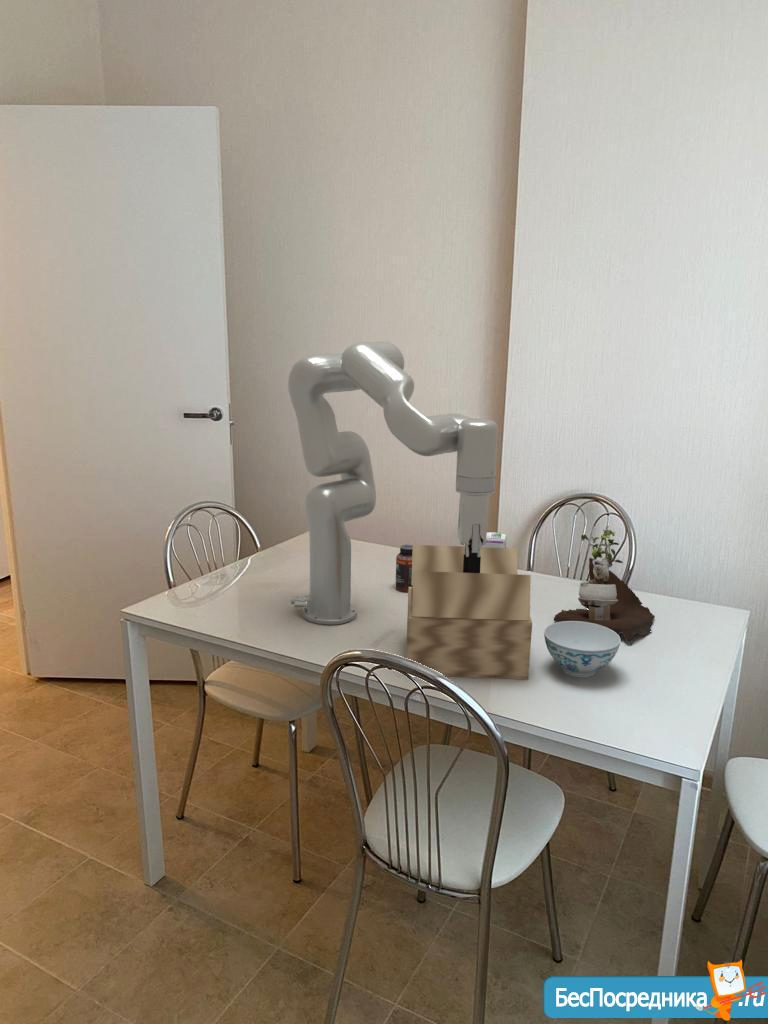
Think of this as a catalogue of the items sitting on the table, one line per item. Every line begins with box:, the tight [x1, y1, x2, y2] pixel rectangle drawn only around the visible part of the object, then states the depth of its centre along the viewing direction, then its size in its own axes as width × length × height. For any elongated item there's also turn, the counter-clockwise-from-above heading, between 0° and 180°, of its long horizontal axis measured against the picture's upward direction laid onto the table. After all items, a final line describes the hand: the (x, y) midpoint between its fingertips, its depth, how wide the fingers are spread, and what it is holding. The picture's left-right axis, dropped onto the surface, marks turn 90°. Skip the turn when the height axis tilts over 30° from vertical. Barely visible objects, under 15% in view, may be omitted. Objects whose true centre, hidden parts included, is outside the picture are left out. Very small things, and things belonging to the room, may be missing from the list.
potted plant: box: [553, 528, 656, 644], centre depth 194 cm, size 20×19×25 cm
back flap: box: [411, 544, 519, 585], centre depth 179 cm, size 23×9×1 cm
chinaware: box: [543, 621, 621, 678], centre depth 167 cm, size 15×15×8 cm
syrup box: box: [482, 531, 507, 548], centre depth 212 cm, size 6×6×14 cm
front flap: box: [412, 571, 532, 621], centre depth 161 cm, size 23×9×1 cm
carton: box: [406, 587, 533, 680], centre depth 171 cm, size 24×18×12 cm
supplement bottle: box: [395, 544, 414, 593], centre depth 211 cm, size 6×6×11 cm
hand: (471, 574), depth 163 cm, fingers closed
